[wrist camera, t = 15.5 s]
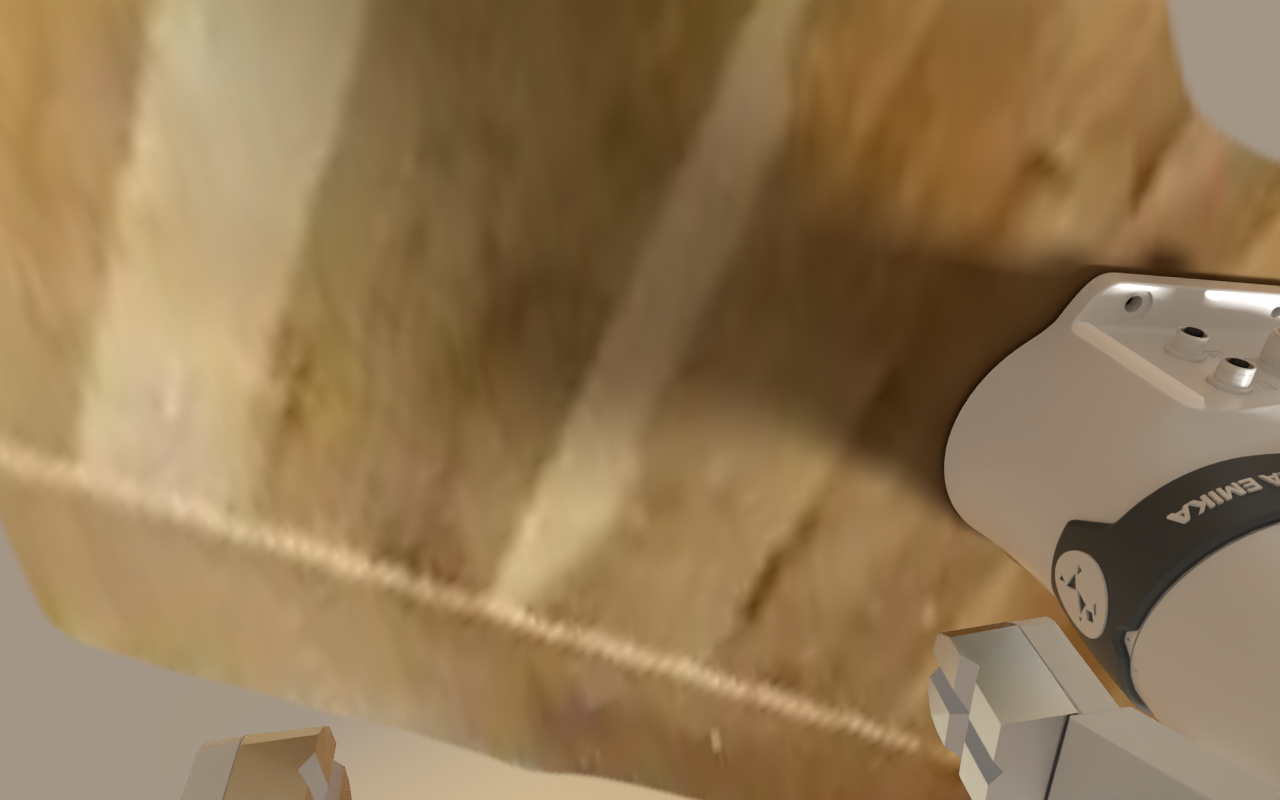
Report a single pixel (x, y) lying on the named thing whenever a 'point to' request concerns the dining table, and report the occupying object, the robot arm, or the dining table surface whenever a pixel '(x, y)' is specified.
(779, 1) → the dining table surface
